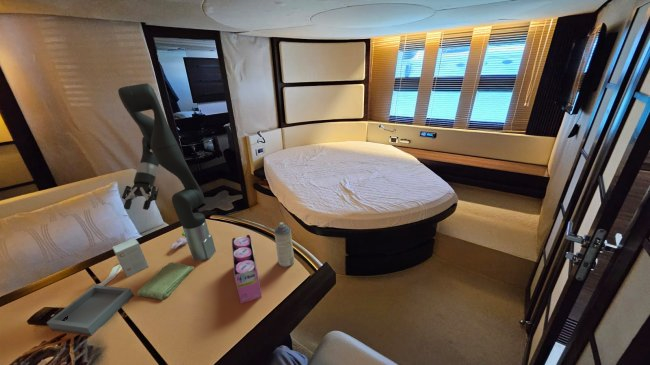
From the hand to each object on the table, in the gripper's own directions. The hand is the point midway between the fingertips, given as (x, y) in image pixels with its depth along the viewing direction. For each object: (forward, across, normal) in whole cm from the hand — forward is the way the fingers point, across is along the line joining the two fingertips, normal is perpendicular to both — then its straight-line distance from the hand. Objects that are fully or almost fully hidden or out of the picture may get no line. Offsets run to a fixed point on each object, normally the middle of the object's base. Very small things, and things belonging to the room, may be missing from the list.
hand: (136, 209), depth 107 cm
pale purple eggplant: (+12, +10, +23) cm, 28 cm away
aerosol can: (+20, +65, +13) cm, 69 cm away
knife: (+29, -10, +6) cm, 31 cm away
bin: (+39, +1, -6) cm, 39 cm away
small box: (+24, -1, +10) cm, 27 cm away
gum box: (+27, +52, +6) cm, 59 cm away
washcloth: (+29, +18, +5) cm, 35 cm away
